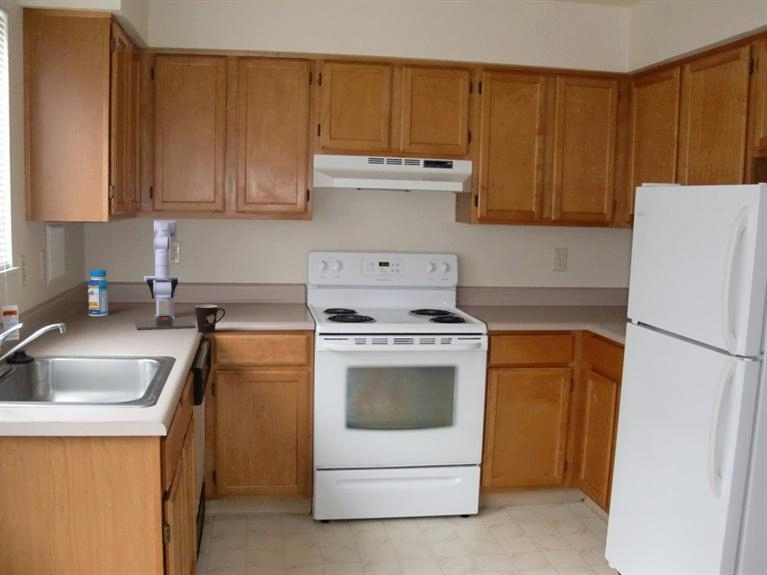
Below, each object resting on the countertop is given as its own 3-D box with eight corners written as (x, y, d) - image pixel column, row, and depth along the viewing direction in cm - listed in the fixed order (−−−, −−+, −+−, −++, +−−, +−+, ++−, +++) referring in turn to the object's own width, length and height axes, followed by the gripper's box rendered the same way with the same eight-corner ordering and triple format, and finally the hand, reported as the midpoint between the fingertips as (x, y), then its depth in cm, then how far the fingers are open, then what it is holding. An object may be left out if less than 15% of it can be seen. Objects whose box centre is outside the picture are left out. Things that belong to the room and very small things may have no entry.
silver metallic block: (158, 314, 307) (158, 299, 306) (168, 314, 308) (168, 299, 308) (159, 316, 304) (159, 300, 303) (169, 315, 305) (168, 300, 304)
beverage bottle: (109, 316, 326) (108, 270, 324) (89, 317, 322) (88, 270, 320) (107, 313, 334) (107, 268, 331) (87, 314, 330) (86, 269, 328)
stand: (134, 321, 313) (134, 313, 312) (188, 320, 321) (188, 311, 320) (137, 330, 292) (137, 321, 292) (194, 328, 300) (194, 319, 300)
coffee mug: (195, 333, 288) (195, 307, 287) (195, 329, 296) (194, 304, 295) (226, 332, 291) (226, 307, 290) (224, 329, 299) (224, 304, 298)
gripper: (144, 266, 303) (144, 299, 304) (181, 265, 308) (181, 298, 309) (143, 265, 309) (143, 297, 311) (179, 264, 315) (179, 297, 316)
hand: (162, 298), depth 310 cm, fingers open, 7 cm apart
